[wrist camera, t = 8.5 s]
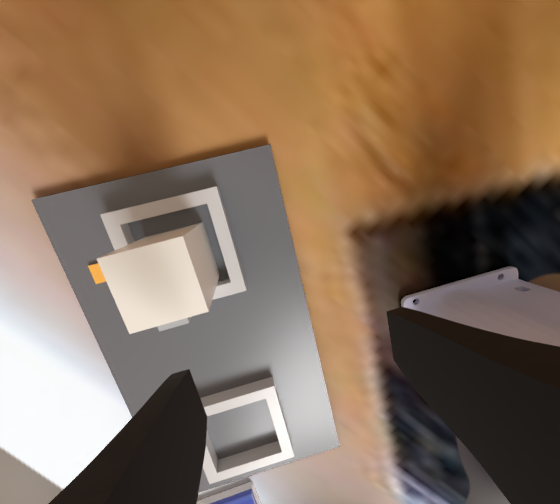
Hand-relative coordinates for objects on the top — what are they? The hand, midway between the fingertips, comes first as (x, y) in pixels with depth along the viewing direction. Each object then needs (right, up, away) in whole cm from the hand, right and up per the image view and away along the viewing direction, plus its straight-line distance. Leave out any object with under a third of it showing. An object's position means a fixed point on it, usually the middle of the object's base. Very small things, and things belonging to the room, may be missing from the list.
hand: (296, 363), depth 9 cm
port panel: (-5, -3, +10) cm, 11 cm away
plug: (-7, +4, +7) cm, 11 cm away
